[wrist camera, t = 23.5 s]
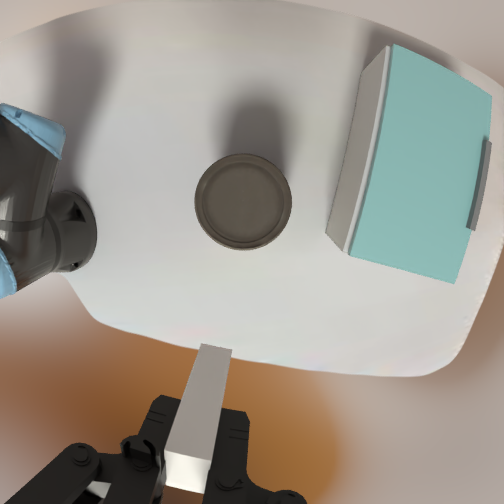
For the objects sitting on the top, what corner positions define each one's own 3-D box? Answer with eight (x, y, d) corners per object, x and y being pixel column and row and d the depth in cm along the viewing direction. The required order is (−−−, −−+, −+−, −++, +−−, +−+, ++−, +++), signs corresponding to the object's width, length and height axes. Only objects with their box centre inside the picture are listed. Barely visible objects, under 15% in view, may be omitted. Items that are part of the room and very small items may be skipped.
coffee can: (209, 172, 44) (181, 171, 30) (274, 152, 42) (275, 141, 29) (229, 236, 46) (211, 261, 32) (293, 217, 45) (303, 236, 31)
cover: (347, 253, 33) (351, 258, 31) (391, 46, 26) (396, 40, 24) (450, 281, 33) (457, 286, 31) (487, 97, 26) (495, 94, 24)
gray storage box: (325, 232, 45) (342, 252, 33) (361, 72, 38) (386, 45, 26) (412, 256, 45) (446, 279, 33) (444, 108, 38) (483, 96, 26)
